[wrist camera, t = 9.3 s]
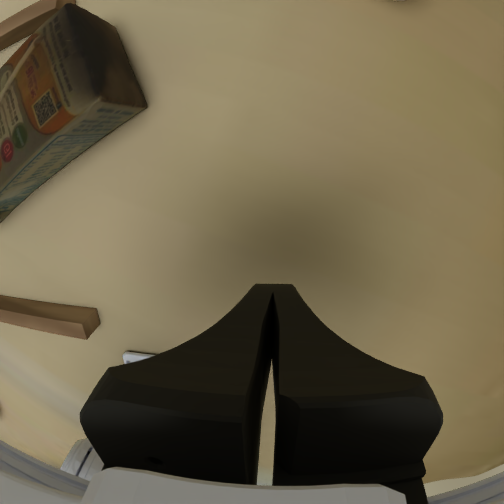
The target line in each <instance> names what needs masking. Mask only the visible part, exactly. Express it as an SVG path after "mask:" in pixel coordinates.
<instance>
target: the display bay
mask: <svg viewBox="0 0 504 504" xmlns="http://www.w3.org/2000/svg"><path fill="white" fill-rule="evenodd" d="M66 3H72V4H75V3H76V0H40V1H38V2H36V3H34V4H32V5H30V6H29V7H27V8H25V9H23V10H21V11H20V12H18V13H16V14H14V15H13V16H11V17H9V18H8V19H6V20H4V21H3V22H1V23H0V51H1V50H3V49H4V48H6V47H8V46H10V45H12V44H13V43H15V42H17V41H19V40H21V39H23V38H25V37H27V36H29V35H31V34H33V33H34V32H35V31H36V30H37V29H38V28H39V27H40V26H41V25H43V24H44V23H45V22H46V21H47V20H48V19H49V18H50V17H52V16H53V15H54V14H55V13H57V12H58V11H59V10H60V9H61V8H62V7H63V6H64V5H65V4H66ZM0 322H4V323H8V324H12V325H17V326H21V327H25V328H30V329H34V330H39V331H43V332H48V333H53V334H58V335H64V336H69V337H74V338H80V339H86V340H87V339H88V338H89V337H90V335H91V334H92V333H93V332H94V331H95V329H96V328H97V327H98V326H99V325H100V320H99V317H98V313H97V309H96V308H87V307H79V306H70V305H62V304H55V303H47V302H40V301H33V300H27V299H20V298H14V297H8V296H2V295H0Z"/></svg>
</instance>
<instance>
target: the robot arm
mask: <svg viewBox="0 0 504 504" xmlns="http://www.w3.org/2000/svg"><path fill="white" fill-rule="evenodd" d="M123 360H124V363H125V364H123V365H119V366H115V367H109V368H108V370H107V371H106V372H105V374H104V375H103V376H102V378H101V379H100V380H99V382H98V384H97V385H96V387H95V388H94V390H93V392H92V393H91V395H90V396H89V398H88V400H87V401H86V403H85V404H84V406H83V408H82V410H81V412H80V423H81V425H82V427H83V430H84V432H85V434H86V436H87V438H85V439H82V440H78V441H77V442H76V443H75V444H74V445H73V447H72V448H71V450H70V452H69V453H68V455H67V457H66V459H65V460H64V462H63V464H62V466H61V468H60V469H58V468H55V467H53V466H51V465H49V464H46V463H44V462H42V461H40V460H38V459H36V458H34V457H32V456H30V455H28V454H26V453H24V452H22V451H20V450H18V449H16V448H14V447H12V446H10V445H8V444H7V443H5V442H3V441H1V440H0V504H504V472H502V473H499V474H497V475H494V476H492V477H489V478H487V479H484V480H481V481H479V482H476V483H473V484H471V485H468V486H464V487H461V488H458V489H455V490H452V491H449V492H445V493H442V494H439V495H435V496H431V497H427V496H426V493H425V489H424V485H423V481H422V477H424V475H425V474H426V469H425V466H424V463H423V458H424V456H425V455H426V453H427V451H428V450H429V448H430V447H431V445H432V443H433V442H434V440H435V439H436V437H437V435H438V434H439V431H440V429H441V426H442V424H443V413H442V410H441V408H440V406H439V404H438V401H437V399H436V397H435V395H434V392H433V390H432V389H431V387H430V385H429V384H428V382H427V380H426V379H425V377H424V376H421V375H418V374H415V373H412V372H409V371H405V370H402V369H399V368H396V367H394V366H391V365H389V364H386V363H384V362H382V361H380V360H378V359H375V358H373V357H371V356H369V355H367V354H366V353H364V352H362V351H360V350H359V349H357V348H355V347H354V346H352V345H350V344H349V343H347V342H346V341H344V340H343V339H342V338H340V337H339V336H338V335H337V334H335V333H334V332H333V331H331V330H330V329H329V328H328V327H327V326H326V325H325V324H324V323H323V322H322V321H321V320H320V319H319V318H318V317H317V316H316V315H315V314H314V313H313V312H312V310H311V309H310V308H309V307H308V306H307V304H306V303H305V302H304V300H303V299H302V298H301V296H300V295H299V293H298V292H297V290H296V288H295V287H294V286H293V285H292V284H255V285H254V286H253V287H252V288H251V289H250V290H249V291H248V293H247V294H246V295H245V296H244V297H243V298H242V299H241V301H240V302H239V303H238V304H237V305H236V306H235V307H234V308H233V309H232V310H231V311H230V312H229V313H228V314H226V315H225V316H224V317H223V318H222V319H221V320H220V321H218V322H217V323H216V324H215V325H213V326H212V327H210V328H209V329H207V330H206V331H204V332H203V333H201V334H200V335H198V336H196V337H194V338H193V339H191V340H189V341H187V342H185V343H183V344H181V345H179V346H177V347H175V348H173V349H170V350H168V351H165V352H163V353H160V354H158V355H149V354H141V353H134V352H125V353H124V354H123ZM129 361H130V362H129ZM271 361H272V366H273V380H274V394H275V408H276V426H275V447H274V466H273V483H272V486H261V485H257V473H258V460H259V447H260V434H261V420H262V412H263V406H264V401H265V395H266V389H267V384H268V378H269V373H270V367H271Z"/></svg>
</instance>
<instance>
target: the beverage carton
mask: <svg viewBox="0 0 504 504" xmlns="http://www.w3.org/2000/svg"><path fill="white" fill-rule="evenodd" d="M146 108H147V104H146V101H145V99H144V96H143V94H142V92H141V89H140V87H139V85H138V83H137V81H136V79H135V76H134V74H133V71H132V69H131V67H130V64H129V61H128V58H127V56H126V53H125V51H124V49H123V46H122V43H121V41H120V39H119V36H118V34H117V31H116V28H115V27H114V26H113V25H111V24H109V23H108V22H106V21H105V20H103V19H101V18H99V17H98V16H96V15H94V14H92V13H90V12H88V11H87V10H85V9H83V8H81V7H79V6H77V5H75V4H72V3H66V4H65V5H64V6H63V7H62V8H61V9H60V10H59V11H58V12H57V13H55V14H54V15H53V16H52V17H50V18H49V19H48V20H47V21H46V22H45V23H44V24H43V25H41V26H40V27H39V28H38V29H37V30H36V31H35V32H34V33H33V34H32V35H31V36H30V37H29V38H28V39H27V40H26V41H25V42H24V43H23V44H22V46H21V47H20V48H19V49H18V50H17V51H16V52H15V53H14V54H13V55H12V56H11V57H10V58H9V60H8V61H7V62H6V63H5V64H4V65H3V66H2V67H1V69H0V222H1V221H2V220H3V219H4V218H5V217H7V215H8V214H9V213H10V212H11V211H12V210H13V209H14V208H15V207H16V206H18V205H19V204H20V203H21V202H22V201H23V200H24V199H26V198H27V197H28V196H29V195H30V194H31V193H32V192H33V191H34V190H35V189H37V188H38V187H39V186H40V185H41V184H42V183H44V182H45V181H46V180H47V179H48V178H50V177H51V176H52V175H54V174H55V173H56V172H57V171H59V170H60V169H61V168H62V167H64V166H65V165H66V164H67V163H69V162H70V161H71V160H73V159H74V158H75V157H77V156H78V155H79V154H81V153H82V152H83V151H85V150H86V149H87V148H89V147H90V146H91V145H93V144H94V143H95V142H97V141H98V140H100V139H101V138H102V137H104V136H105V135H107V134H108V133H109V132H111V131H112V130H114V129H115V128H117V127H118V126H119V125H121V124H122V123H124V122H125V121H127V120H129V119H130V118H131V117H133V116H134V115H135V114H137V113H138V112H140V111H142V110H144V109H146Z"/></svg>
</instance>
